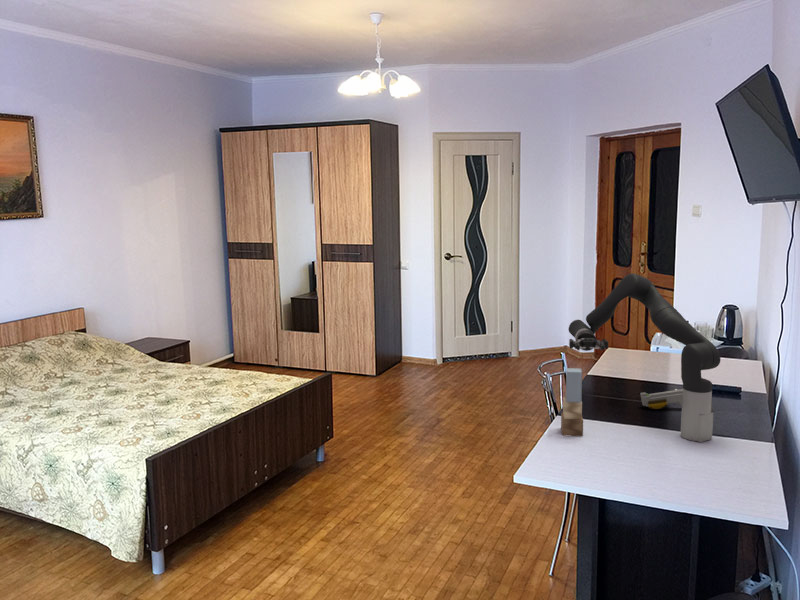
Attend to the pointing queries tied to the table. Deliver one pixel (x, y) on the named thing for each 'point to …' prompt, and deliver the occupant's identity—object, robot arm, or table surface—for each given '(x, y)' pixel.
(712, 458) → the table surface
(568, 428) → the walnut block
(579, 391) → the slate block
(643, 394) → the toy
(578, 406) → the beech block
